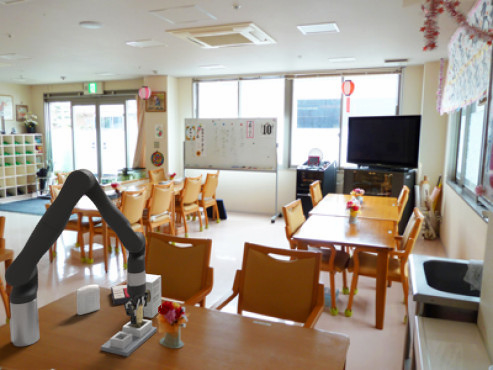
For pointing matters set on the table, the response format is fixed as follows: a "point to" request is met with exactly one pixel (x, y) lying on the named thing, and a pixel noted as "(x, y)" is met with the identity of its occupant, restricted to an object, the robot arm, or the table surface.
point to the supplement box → (153, 295)
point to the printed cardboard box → (119, 294)
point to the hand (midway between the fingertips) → (137, 320)
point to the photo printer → (88, 299)
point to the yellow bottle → (139, 317)
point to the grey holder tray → (129, 338)
